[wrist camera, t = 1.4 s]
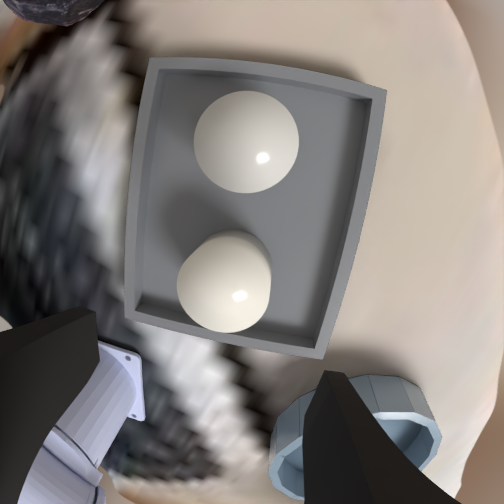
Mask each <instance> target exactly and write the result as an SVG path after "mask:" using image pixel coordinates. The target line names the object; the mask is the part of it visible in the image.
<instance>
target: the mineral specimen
mask: <svg viewBox="0 0 504 504" xmlns="http://www.w3.org/2000/svg"><path fill="white" fill-rule="evenodd" d="M3 1H4V3H5V4H6V5H7V6H8V7H9V8H10V9H11V10H12V11H13V13H14V14H16V15H17V16H18V17H20V18H21V19H23V20H25V21H29V22H32V21H33V22H36V23H45V24H54V25H62V26H68V25H72V24H74V23H75V22H77V21H80V20H82V19H83V18H85V17H87V16H88V15H89V14H90V12H91V11H93V10H94V9H96V8H97V7H98V6H99V5H100V4H101V3H102V2H103V1H104V0H3Z"/></svg>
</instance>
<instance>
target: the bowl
mask: <svg viewBox="0 0 504 504" xmlns="http://www.w3.org/2000/svg"><path fill="white" fill-rule="evenodd" d="M349 381H350V382H351V384H352V385H353V387H354V388H355V390H356V391H357V393H358V394H359V396H360V397H361V399H362V400H363V402H364V403H365V405H366V406H367V407H368V409H369V410H370V412H371V413H372V415H373V416H374V417H375V419H376V420H377V421H378V423H379V424H380V425H381V427H382V428H383V429H384V431H385V432H386V433H387V435H388V436H389V437H390V438H391V439H392V441H393V442H394V443H395V444H396V445H397V447H398V448H399V449H400V450H401V451H402V452H403V454H404V455H405V456H406V457H407V458H408V459H409V460H410V461H411V462H412V463H413V464H414V465H415V466H416V467H417V468H418V469H419V470H420V471H422V470H423V469H424V468H425V467H426V466H427V464H428V463H429V462H430V461H431V460H432V459H433V458H434V457H435V455H436V454H437V451H438V448H439V445H440V442H441V439H442V435H441V433H440V430H439V428H438V425H437V423H436V421H435V419H434V416H433V414H432V412H431V410H430V408H429V406H428V404H427V401H426V399H425V397H424V395H423V393H422V391H421V389H420V388H419V387H417V386H416V385H414V384H412V383H410V382H408V381H406V380H404V379H403V378H401V377H395V376H381V375H363V376H358V377H354V378H349ZM315 391H316V390H314V391H311V392H309V393H307V394H305V395H303V396H301V397H299V398H298V399H296V400H295V401H294V402H293V403H292V404H291V405H290V406H289V407H288V408H287V409H286V410H285V411H284V412H282V413H281V414H280V415H279V416H278V418H277V421H276V423H275V426H274V429H273V432H272V434H271V442H270V454H269V465H268V474H269V476H270V479H271V481H272V483H273V486H274V487H275V488H276V489H278V490H279V491H281V492H282V493H284V494H285V495H287V496H289V497H290V498H293V499H297V500H301V501H304V475H303V452H302V439H303V426H304V415H305V413H306V411H307V409H308V406H309V404H310V402H311V400H312V398H313V396H314V393H315Z"/></svg>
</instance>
